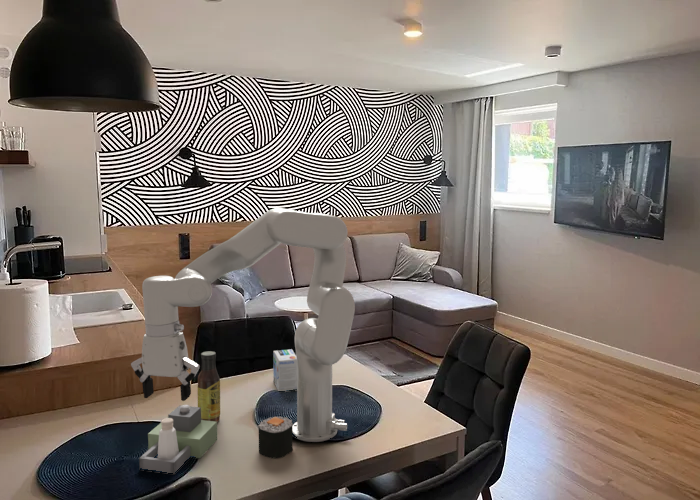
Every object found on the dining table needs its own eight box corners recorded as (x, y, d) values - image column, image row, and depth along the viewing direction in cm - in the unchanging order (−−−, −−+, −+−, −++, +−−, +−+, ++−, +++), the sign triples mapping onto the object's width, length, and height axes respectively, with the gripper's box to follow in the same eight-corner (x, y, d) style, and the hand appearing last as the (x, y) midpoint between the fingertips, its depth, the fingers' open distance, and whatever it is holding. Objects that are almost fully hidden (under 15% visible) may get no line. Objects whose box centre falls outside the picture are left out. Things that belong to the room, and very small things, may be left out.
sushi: (253, 453, 139) (252, 423, 138) (273, 439, 147) (273, 411, 145) (278, 461, 135) (278, 431, 134) (298, 447, 142) (298, 418, 141)
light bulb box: (272, 380, 188) (272, 350, 186) (292, 378, 190) (292, 348, 188) (278, 392, 178) (278, 360, 176) (298, 390, 180) (298, 358, 178)
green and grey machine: (217, 439, 146) (216, 403, 145) (184, 475, 129) (182, 434, 127) (169, 434, 149) (167, 398, 147) (130, 468, 131) (128, 428, 130)
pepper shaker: (170, 454, 138) (168, 413, 137) (184, 460, 135) (183, 418, 134) (152, 464, 133) (150, 421, 132) (167, 470, 131) (165, 427, 129)
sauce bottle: (214, 426, 153) (213, 358, 151) (193, 424, 155) (192, 356, 152) (224, 416, 160) (223, 350, 157) (204, 414, 161) (202, 349, 158)
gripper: (203, 325, 132) (207, 393, 134) (138, 322, 135) (143, 388, 138) (188, 335, 124) (193, 406, 127) (119, 331, 128) (125, 401, 130)
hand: (167, 397), depth 132 cm, fingers open, 9 cm apart
